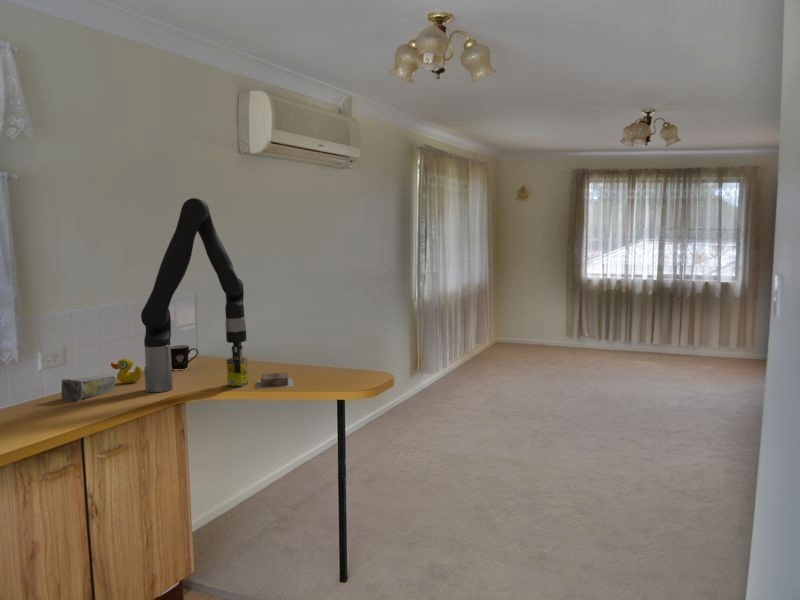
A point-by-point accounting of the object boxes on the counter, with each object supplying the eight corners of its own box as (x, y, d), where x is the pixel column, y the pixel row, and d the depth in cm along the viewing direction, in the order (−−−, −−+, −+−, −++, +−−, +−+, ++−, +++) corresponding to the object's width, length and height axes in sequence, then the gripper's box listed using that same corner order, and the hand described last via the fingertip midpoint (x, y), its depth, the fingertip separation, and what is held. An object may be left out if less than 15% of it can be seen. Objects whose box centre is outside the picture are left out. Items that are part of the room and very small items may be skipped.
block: (103, 389, 246) (102, 369, 245) (119, 390, 243) (118, 370, 242) (61, 400, 229) (59, 379, 228) (77, 402, 226) (76, 380, 225)
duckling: (111, 385, 250) (109, 360, 249) (112, 382, 255) (111, 358, 254) (142, 383, 254) (140, 358, 253) (143, 380, 259) (141, 356, 258)
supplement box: (241, 387, 243) (240, 359, 242) (227, 387, 244) (226, 359, 243) (248, 384, 249) (247, 356, 247) (234, 383, 250) (233, 356, 249)
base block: (261, 387, 242) (261, 379, 242) (262, 381, 252) (261, 373, 251) (287, 385, 244) (287, 377, 244) (287, 379, 254) (287, 372, 253)
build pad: (255, 389, 240) (255, 388, 240) (257, 381, 253) (257, 380, 253) (293, 387, 242) (293, 386, 242) (292, 379, 256) (292, 378, 256)
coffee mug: (166, 371, 277) (165, 348, 276) (174, 367, 285) (173, 345, 284) (192, 371, 276) (191, 348, 275) (199, 367, 285) (198, 345, 284)
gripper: (227, 327, 250) (229, 367, 252) (224, 332, 236) (227, 375, 238) (246, 326, 252) (249, 366, 253) (244, 331, 238) (247, 373, 239)
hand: (238, 370), depth 246 cm, fingers open, 8 cm apart
